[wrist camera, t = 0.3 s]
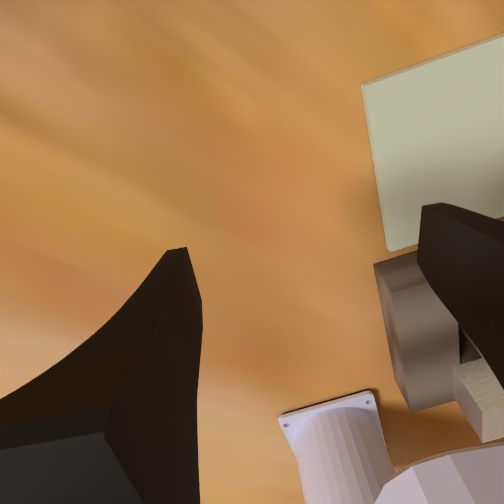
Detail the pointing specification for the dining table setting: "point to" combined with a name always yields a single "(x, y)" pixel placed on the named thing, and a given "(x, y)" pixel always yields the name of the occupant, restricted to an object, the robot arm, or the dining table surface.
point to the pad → (438, 137)
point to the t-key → (479, 397)
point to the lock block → (419, 334)
